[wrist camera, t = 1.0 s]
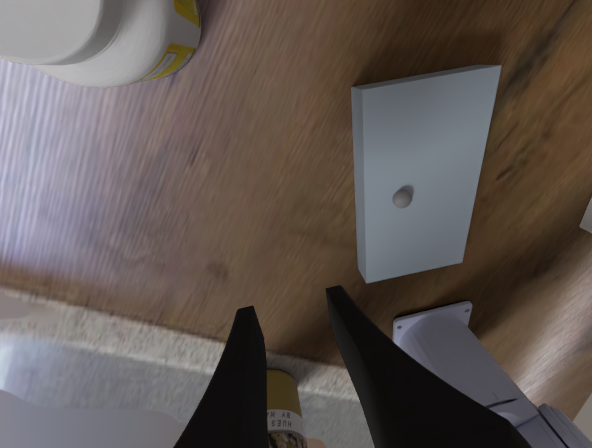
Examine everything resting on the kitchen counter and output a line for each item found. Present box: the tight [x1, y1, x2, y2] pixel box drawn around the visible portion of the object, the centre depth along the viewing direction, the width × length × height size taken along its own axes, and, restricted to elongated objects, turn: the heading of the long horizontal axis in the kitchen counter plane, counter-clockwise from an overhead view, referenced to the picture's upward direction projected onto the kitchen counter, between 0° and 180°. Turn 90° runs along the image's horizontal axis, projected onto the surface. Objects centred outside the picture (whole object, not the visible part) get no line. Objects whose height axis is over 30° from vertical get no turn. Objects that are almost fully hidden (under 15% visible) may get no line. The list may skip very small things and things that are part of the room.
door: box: [351, 65, 502, 284], centre depth 20 cm, size 14×8×3 cm, turn 8°
